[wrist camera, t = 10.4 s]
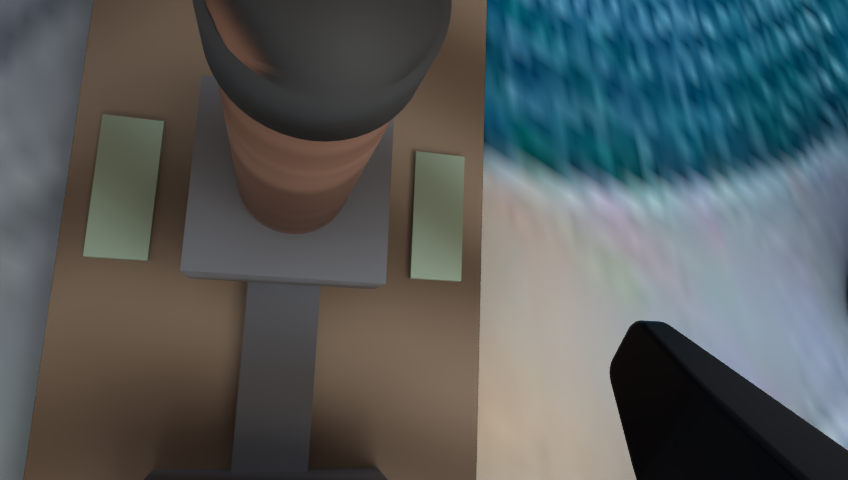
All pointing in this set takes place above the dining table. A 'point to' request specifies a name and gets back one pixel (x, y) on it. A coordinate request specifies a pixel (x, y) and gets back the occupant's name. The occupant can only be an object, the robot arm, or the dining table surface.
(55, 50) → the dining table surface
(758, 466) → the robot arm
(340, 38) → the handle
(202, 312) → the press base
